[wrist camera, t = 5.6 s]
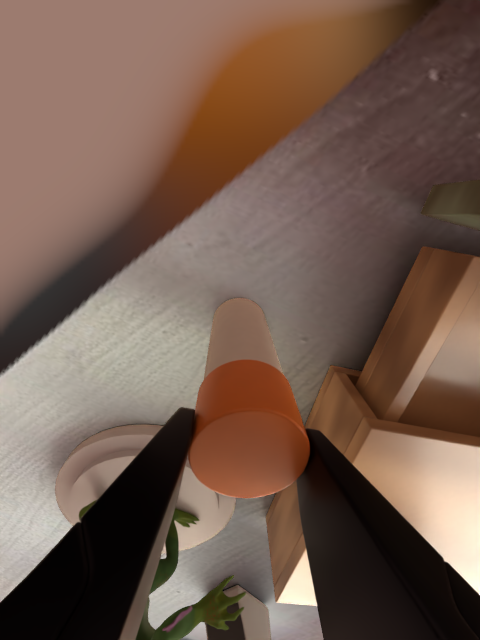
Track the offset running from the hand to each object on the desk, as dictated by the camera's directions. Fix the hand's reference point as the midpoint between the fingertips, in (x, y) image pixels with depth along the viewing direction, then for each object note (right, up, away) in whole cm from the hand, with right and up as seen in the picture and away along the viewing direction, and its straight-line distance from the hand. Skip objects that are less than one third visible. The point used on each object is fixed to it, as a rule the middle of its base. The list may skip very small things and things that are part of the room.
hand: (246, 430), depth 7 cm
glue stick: (0, +3, +7) cm, 8 cm away
